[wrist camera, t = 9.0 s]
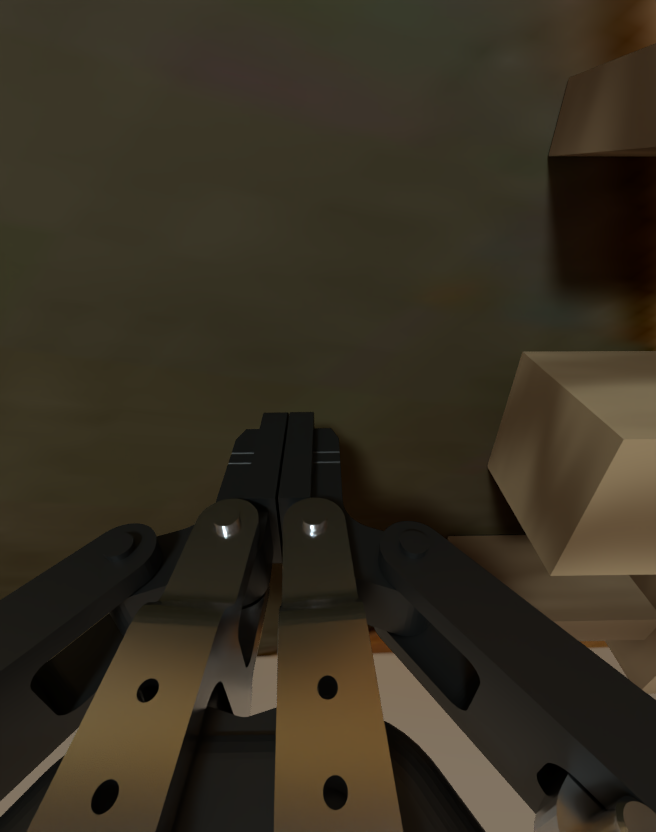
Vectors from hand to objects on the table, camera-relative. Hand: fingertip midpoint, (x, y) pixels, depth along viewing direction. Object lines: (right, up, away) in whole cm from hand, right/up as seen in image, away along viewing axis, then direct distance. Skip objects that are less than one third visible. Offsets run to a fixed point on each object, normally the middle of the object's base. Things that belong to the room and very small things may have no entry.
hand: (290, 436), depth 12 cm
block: (+10, +1, +2) cm, 10 cm away
